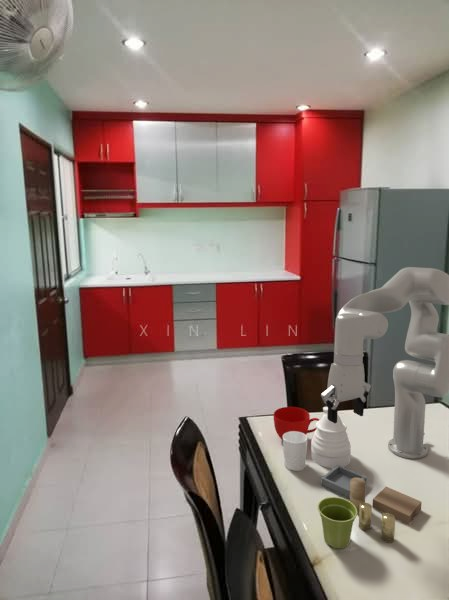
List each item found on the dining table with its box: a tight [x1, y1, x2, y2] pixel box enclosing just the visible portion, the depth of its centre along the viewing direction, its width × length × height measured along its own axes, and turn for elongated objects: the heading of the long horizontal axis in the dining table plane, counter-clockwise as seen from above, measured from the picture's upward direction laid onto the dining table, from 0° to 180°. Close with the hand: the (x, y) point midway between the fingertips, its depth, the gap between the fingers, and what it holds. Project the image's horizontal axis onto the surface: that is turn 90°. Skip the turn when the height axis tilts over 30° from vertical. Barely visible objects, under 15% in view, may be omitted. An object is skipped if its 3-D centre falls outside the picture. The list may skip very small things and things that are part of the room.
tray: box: [320, 465, 367, 500], centre depth 127 cm, size 10×10×2 cm
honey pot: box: [310, 406, 352, 469], centre depth 141 cm, size 13×13×18 cm
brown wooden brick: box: [371, 486, 422, 526], centre depth 116 cm, size 8×10×3 cm
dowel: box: [349, 478, 367, 514], centre depth 116 cm, size 4×4×8 cm
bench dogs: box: [358, 501, 396, 544], centre depth 107 cm, size 3×9×6 cm, turn 45°
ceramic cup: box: [273, 406, 320, 441], centre depth 153 cm, size 13×17×10 cm
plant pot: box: [317, 496, 358, 549], centre depth 104 cm, size 9×9×9 cm
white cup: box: [282, 431, 308, 472], centre depth 137 cm, size 8×8×10 cm
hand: (345, 417), depth 118 cm, fingers open, 9 cm apart
